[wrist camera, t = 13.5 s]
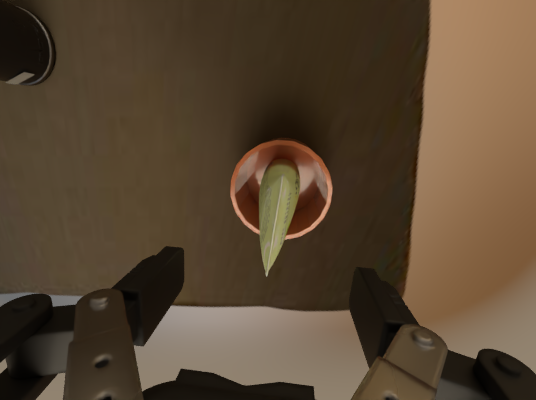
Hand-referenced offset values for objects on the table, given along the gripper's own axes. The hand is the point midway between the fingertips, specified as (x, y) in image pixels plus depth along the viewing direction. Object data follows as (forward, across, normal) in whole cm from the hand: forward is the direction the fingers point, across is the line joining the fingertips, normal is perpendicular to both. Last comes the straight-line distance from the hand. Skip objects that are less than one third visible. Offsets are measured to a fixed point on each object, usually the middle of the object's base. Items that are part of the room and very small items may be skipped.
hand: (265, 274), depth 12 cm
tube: (+26, 0, 0) cm, 26 cm away
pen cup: (+26, 0, 0) cm, 26 cm away
